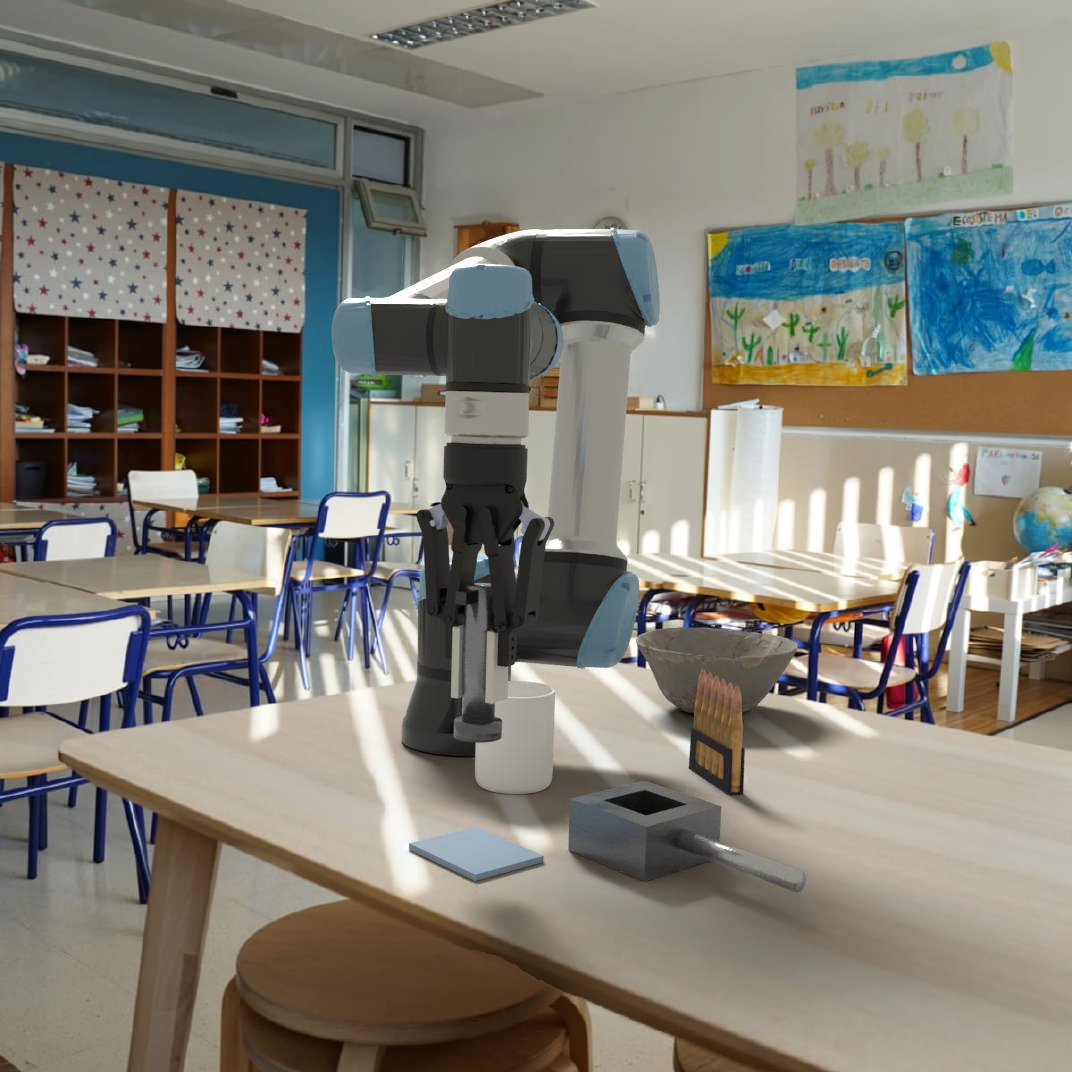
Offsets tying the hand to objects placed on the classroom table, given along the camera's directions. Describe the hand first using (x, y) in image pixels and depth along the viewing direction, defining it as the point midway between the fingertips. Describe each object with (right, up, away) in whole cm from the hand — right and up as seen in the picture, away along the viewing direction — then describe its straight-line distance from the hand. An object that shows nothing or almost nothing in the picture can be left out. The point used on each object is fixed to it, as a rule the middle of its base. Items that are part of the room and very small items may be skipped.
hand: (479, 697), depth 117 cm
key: (0, -4, 0) cm, 4 cm away
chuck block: (+20, -16, -1) cm, 25 cm away
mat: (0, -15, +2) cm, 15 cm away
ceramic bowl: (+30, -10, +62) cm, 70 cm away
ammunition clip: (+26, -13, +28) cm, 40 cm away
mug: (+2, -13, +26) cm, 29 cm away
